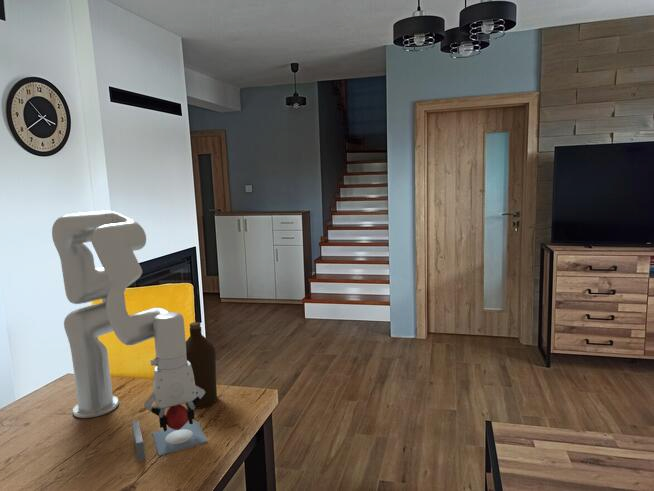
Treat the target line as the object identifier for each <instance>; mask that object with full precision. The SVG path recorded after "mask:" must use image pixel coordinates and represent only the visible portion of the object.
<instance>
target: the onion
mask: <svg viewBox="0 0 654 491" xmlns="http://www.w3.org/2000/svg"><path fill="white" fill-rule="evenodd" d="M165 416H166V424H167V428H172V429H174V430H180V429H181V428H182V427H183V426H184V425H185V424H186V423H188V422H189V421H188V411H187V407H185V406H184V405H183V404H180V405H176V406H172V407H168V409H167V410H166V413H165Z"/></svg>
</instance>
